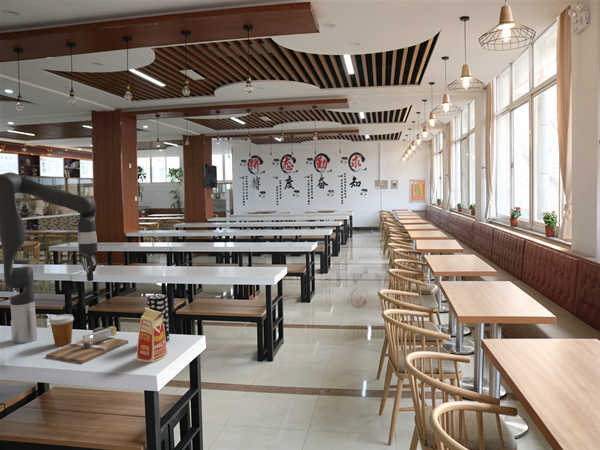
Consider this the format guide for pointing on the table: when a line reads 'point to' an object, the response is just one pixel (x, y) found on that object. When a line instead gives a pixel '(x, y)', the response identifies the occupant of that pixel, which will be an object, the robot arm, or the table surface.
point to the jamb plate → (87, 349)
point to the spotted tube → (160, 309)
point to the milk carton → (151, 337)
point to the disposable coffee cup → (62, 329)
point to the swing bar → (98, 335)
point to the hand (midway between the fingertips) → (90, 280)
